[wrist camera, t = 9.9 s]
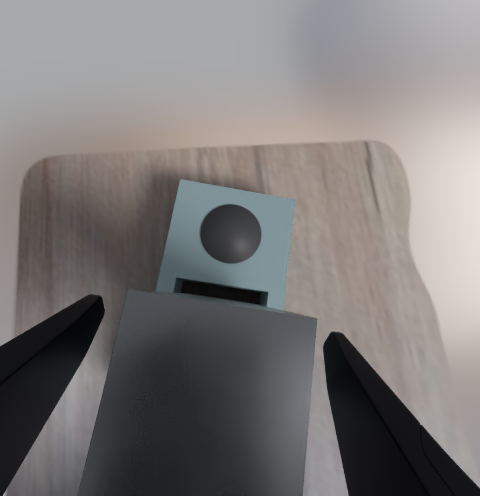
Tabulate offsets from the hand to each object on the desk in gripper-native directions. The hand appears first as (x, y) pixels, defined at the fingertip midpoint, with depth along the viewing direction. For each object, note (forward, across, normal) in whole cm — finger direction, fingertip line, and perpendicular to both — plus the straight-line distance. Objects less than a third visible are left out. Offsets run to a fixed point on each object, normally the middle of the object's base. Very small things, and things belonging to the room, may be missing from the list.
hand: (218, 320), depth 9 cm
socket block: (+6, 0, +5) cm, 8 cm away
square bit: (+5, 0, +6) cm, 8 cm away
